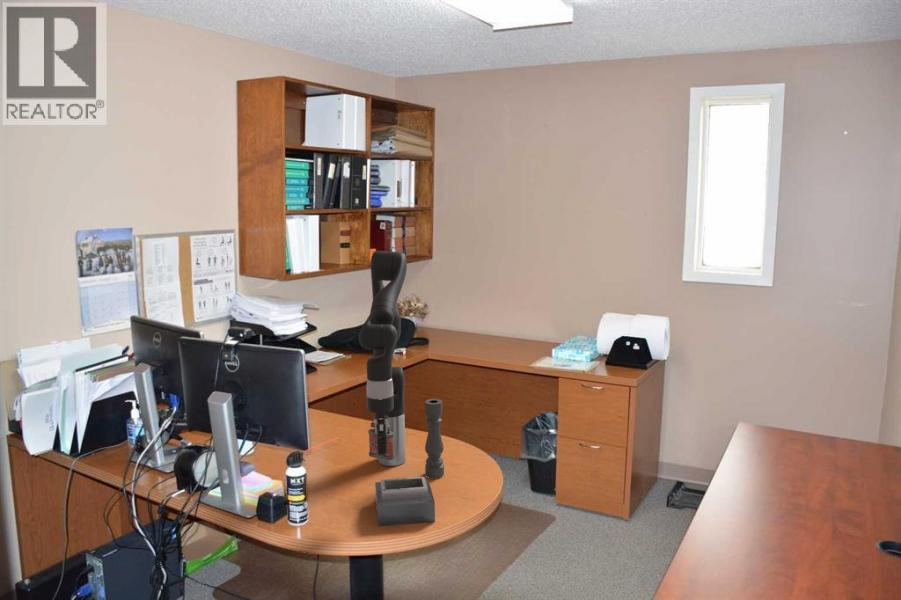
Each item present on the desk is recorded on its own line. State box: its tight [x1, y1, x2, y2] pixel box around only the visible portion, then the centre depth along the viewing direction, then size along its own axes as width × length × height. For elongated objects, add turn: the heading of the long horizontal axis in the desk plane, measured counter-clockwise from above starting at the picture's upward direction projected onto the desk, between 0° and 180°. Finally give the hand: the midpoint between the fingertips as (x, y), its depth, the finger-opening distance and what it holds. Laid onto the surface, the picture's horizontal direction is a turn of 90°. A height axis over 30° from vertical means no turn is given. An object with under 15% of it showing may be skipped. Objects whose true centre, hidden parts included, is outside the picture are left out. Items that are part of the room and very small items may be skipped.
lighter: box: [367, 421, 395, 460], centre depth 203 cm, size 8×3×10 cm, turn 64°
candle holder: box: [424, 398, 445, 479], centre depth 230 cm, size 6×6×25 cm
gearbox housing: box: [374, 476, 436, 527], centre depth 206 cm, size 16×16×8 cm
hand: (381, 450), depth 203 cm, fingers closed on lighter, 4 cm apart
